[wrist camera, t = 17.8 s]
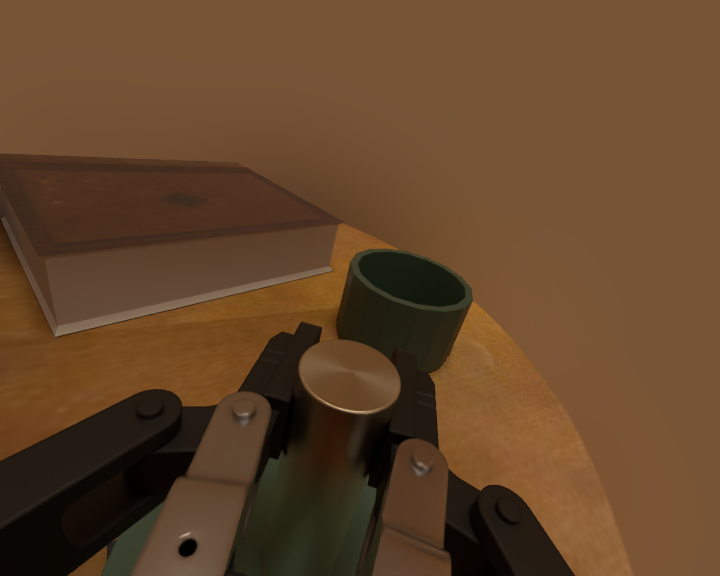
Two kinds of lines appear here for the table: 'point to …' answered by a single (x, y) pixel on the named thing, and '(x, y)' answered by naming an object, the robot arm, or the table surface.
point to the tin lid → (311, 470)
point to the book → (152, 234)
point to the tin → (403, 305)
